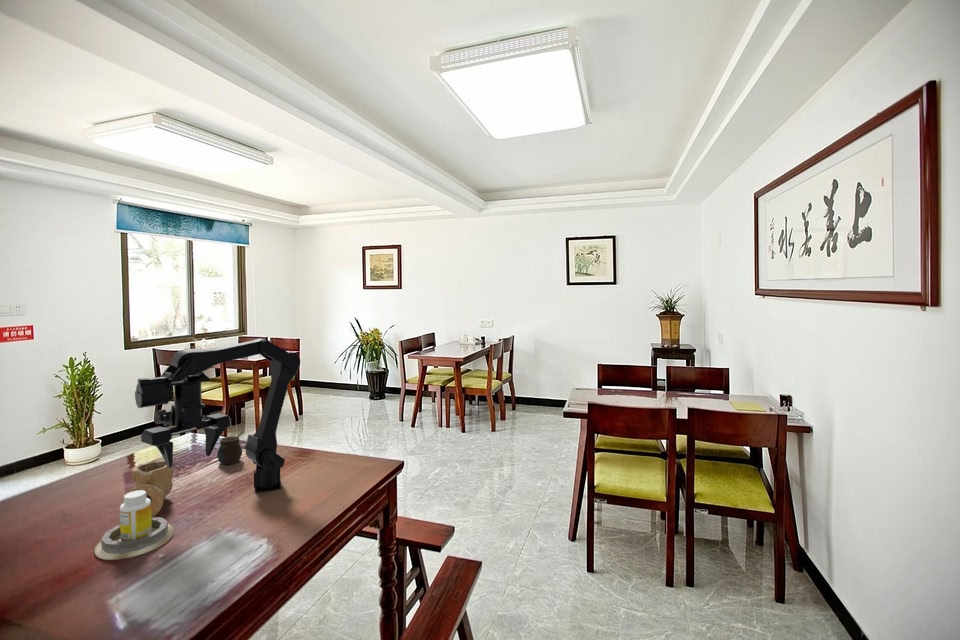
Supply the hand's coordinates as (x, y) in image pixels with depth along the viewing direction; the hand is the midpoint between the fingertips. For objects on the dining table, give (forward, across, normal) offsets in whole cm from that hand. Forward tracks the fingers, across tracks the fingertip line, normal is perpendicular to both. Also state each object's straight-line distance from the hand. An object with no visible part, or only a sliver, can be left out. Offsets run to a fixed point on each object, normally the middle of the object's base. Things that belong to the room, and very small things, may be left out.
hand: (189, 461), depth 113 cm
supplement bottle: (+13, +14, +4) cm, 19 cm away
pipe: (+13, +4, -11) cm, 18 cm away
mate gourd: (+13, -25, -23) cm, 36 cm away
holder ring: (+13, +14, +4) cm, 19 cm away
